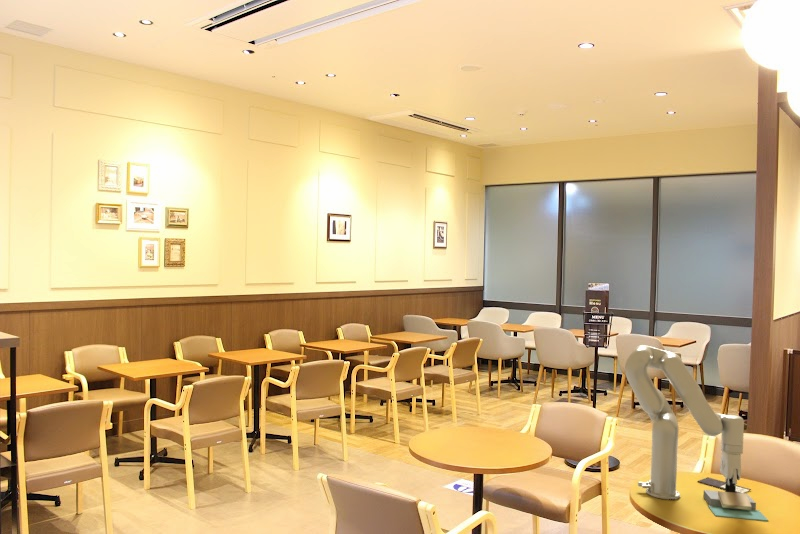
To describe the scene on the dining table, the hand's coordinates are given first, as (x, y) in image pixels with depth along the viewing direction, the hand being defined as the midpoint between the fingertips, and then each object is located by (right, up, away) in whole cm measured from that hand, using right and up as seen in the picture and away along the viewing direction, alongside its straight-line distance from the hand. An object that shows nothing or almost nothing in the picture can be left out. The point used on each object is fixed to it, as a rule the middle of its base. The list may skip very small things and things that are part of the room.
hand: (730, 495), depth 256 cm
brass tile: (-1, -1, -5) cm, 5 cm away
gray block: (0, -4, +1) cm, 4 cm away
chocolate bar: (+8, -5, +22) cm, 24 cm away
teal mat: (-2, -4, -9) cm, 10 cm away
